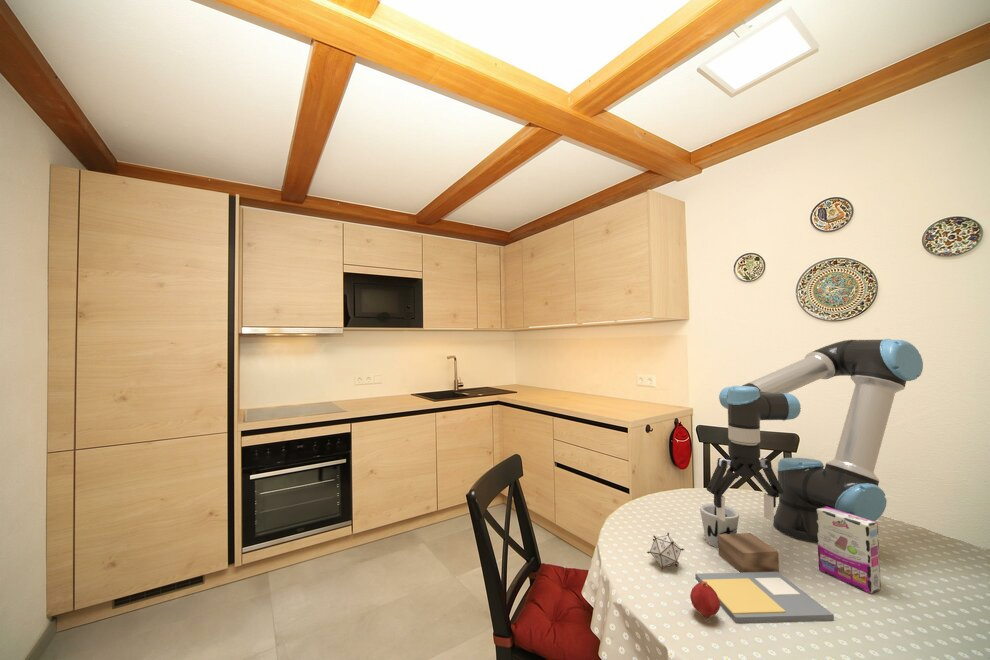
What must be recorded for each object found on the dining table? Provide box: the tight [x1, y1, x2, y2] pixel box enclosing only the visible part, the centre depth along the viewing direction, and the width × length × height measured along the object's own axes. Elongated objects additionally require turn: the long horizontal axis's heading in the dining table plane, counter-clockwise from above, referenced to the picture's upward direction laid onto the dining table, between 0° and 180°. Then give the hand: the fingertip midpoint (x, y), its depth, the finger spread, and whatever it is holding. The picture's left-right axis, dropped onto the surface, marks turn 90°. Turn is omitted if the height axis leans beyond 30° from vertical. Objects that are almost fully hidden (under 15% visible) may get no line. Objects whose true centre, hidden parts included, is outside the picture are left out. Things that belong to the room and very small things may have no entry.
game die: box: [646, 531, 685, 571], centre depth 106 cm, size 9×8×10 cm
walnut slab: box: [717, 532, 780, 573], centre depth 107 cm, size 10×10×6 cm
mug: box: [699, 503, 740, 549], centre depth 120 cm, size 10×15×10 cm
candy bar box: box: [816, 506, 882, 595], centre depth 99 cm, size 11×5×16 cm, turn 23°
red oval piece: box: [689, 581, 721, 619], centre depth 86 cm, size 6×6×8 cm
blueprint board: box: [694, 571, 835, 624], centre depth 92 cm, size 22×16×2 cm
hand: (745, 519), depth 107 cm, fingers open, 13 cm apart
